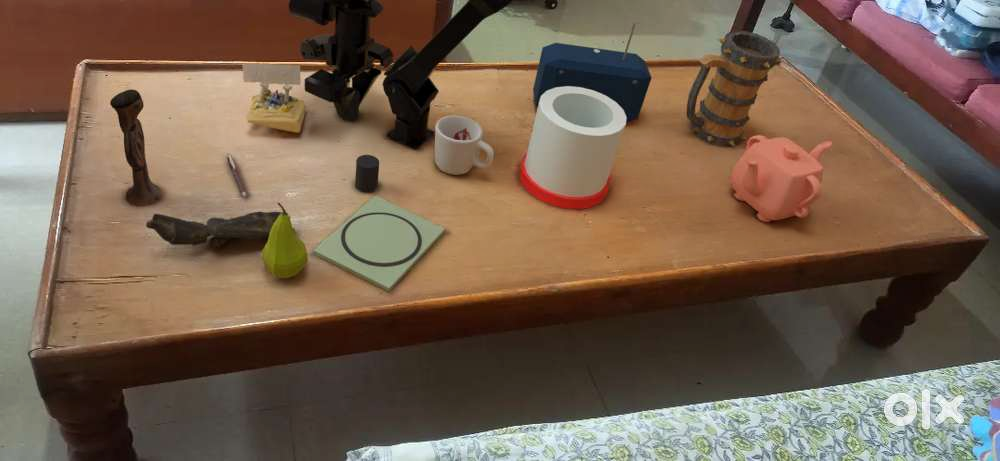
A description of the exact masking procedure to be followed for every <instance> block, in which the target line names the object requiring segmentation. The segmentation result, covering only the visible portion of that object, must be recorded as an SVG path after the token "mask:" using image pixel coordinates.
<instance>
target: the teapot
mask: <svg viewBox="0 0 1000 461" xmlns="http://www.w3.org/2000/svg"><path fill="white" fill-rule="evenodd" d="M832 145H833V143H832V141H830V140H829V141H828V140H826V141H823V142H820V143H819V144H818V145H817V146H815V148H813V149H812V150H811V151H810V152H807V151H806V150H805V149H803V148H802V147H800V146H799V145H798V144H796V143H795V142H793V141H792V140H790V139H788V138H787V137H784V136H782V137H774V138H767V137H766V136H764V135H761V134H756V135H753V136H751V137H750V138H749V139H748V140H747V142H746V147H745V152H744V153H743V155H742V156H741V157H740V158H739V160H738V161H737V163H736V164H735V166H734V168H733V170H732V172H731V173H730V186H731V188H732V189H733V190H734V191H735V192H734V193H733V196H734V198H736V199H737V200H739V201H742V202H745V203H747V205H749V206H750V207H752V208H753V209H754V210H755V211H756V212H758V213H757V214H756V216H757V218H758V219H759V220H760V221H762V222H765V223H767V222H768V223H770V222H771V221H779V220H784V219H788V218H791V217H794V216H795V217H798V218H800V219H804V218H806V217H807V216H808V215H809V209H810V208H811V207H812V206H813V204H814V203H815V202H816V200H817V199H818V198H819V197H820V196H821V194H822V190H823V189H822V181H823V175H824V167H823V165H822V164H821V163H820V162H819V161H820V159H821V157H822V156H823V155H824V153H825V151H826V150H828V149H829V148H830V147H831V146H832Z"/></svg>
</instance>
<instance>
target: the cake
mask: <svg viewBox="0 0 1000 461" xmlns="http://www.w3.org/2000/svg"><path fill="white" fill-rule="evenodd" d="M242 73H243V74H242V78H243V79H242V80H243V83H260V85H259V87H260V91H259V94H256V95H253V96H251V103H250V110H249V113H247V115H246V122H247V123H250V124H253V125H258V126H263V127H268V128H272V129H276V130H281V131H285V132H290V133H297V134H298V133H300V132H301V129H302V126H303V122H304V119H305V115H306V111H307V105H306V103H305V102H304V100H301V99H300V98H299V99H298V97H295V96H292V95H290V91H291V90H292V89H293V86H295V85H297V86H298V85H301V65H300V64H289V65H288V64H274V63H271V64H253V63H242ZM274 84H275V85H282V89H283V90H284V93H283V92H281V91H280V92H279V89H276V90H275V91H272V90H271V89H269V85H274ZM168 119H172V117H168Z"/></svg>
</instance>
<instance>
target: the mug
mask: <svg viewBox="0 0 1000 461" xmlns="http://www.w3.org/2000/svg"><path fill="white" fill-rule="evenodd" d="M717 41H718V42H720V44H721V46H720V55H717V54H705V55H703V56H701V57H700V58H698V61H699V63H700V65H701V67H700V69H699V72H698V74H697V76H696V77H695V79H694V80H693V81H694V82H693V83H692V86H691V88H690V91H689V93H688V98H687V103H686V118H687V120H688V121H690V125H691V126H690V128H691V131H692V133H693V134H694V135H696V136H697V137H698V138H699V139H701V140H702V141H704V142H706V143H709V144H711V145H715V146H719V147H735V146H736V145H738V144H739V143H740V142H741V140H747V139H748V138H747V137H746V136H745V135H744V133H745V131H744V128H745V125H746V124H747V123H748V122H750V120H751V118H750V117H749V112H750V110H751V108H752V105H754V104H755V103H756V99H757V98H758V91H759V89H760V87H761V85H762V84H763V83H764V82H767V81H769V78H768V77H769V75H768V73H769V72H770V70H772V69H773V68H774V67H775V66H776V63H782V62H784V61H783V60H782V59H781V58H780V55H781V51H780V48H779V46H778V45H777V44H776V43H775V42H773V41H772V40H770V39H769V38H767V37H765V36H763V35H760V34H758V33H754V32H750V31H747V30H733V31H729V32H727V33H725V35H724V38H718V39H717ZM711 68H716V71H715V74H714V76H713V77H712V78H711V80H710V82H709V85H708V86H707V88H708V91H707V93H706V96H705V98H703V99H701V100H700V101H699V109H698V111H697V112H696V106H697V101H698V96H699V94H700V92H701V89H702V88H703V85H704V83H705V82H706V80H707V78H708V75H709V73H710V70H711Z"/></svg>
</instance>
